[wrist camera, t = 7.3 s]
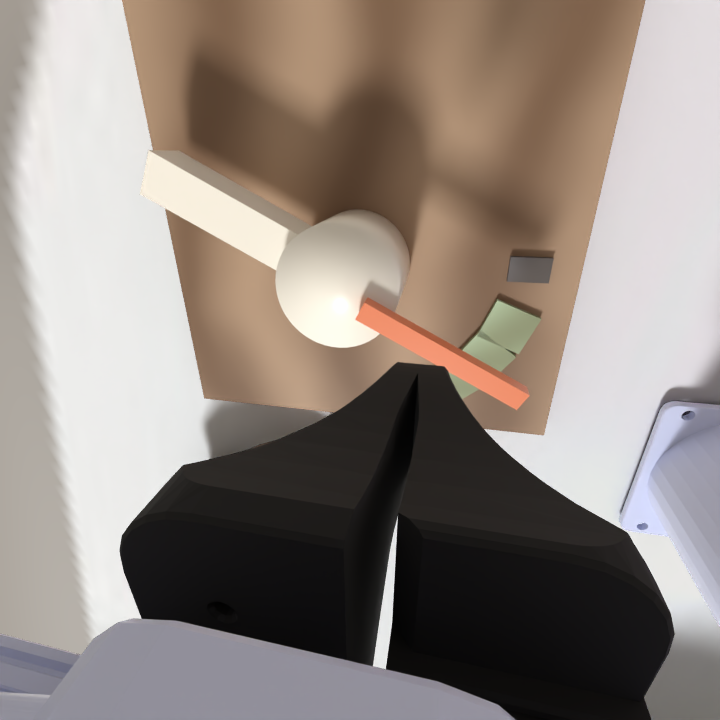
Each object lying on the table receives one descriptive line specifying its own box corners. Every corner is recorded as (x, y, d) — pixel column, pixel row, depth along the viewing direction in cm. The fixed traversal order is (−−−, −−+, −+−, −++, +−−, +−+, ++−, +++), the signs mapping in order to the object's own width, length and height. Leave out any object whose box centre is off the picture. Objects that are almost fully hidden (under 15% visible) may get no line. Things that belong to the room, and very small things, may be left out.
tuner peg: (540, 306, 17) (567, 353, 13) (478, 384, 19) (485, 445, 15) (207, 116, 16) (127, 103, 12) (181, 217, 19) (106, 235, 14)
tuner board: (645, -55, 13) (666, -78, 12) (539, 421, 21) (544, 438, 20) (139, -8, 16) (113, -22, 15) (215, 387, 24) (202, 400, 23)
